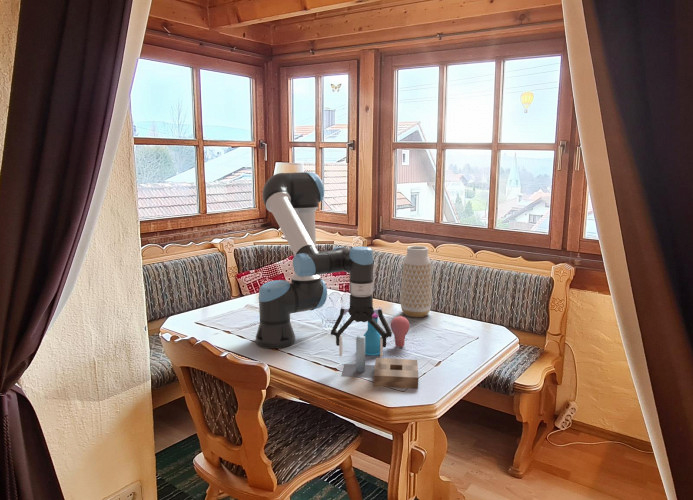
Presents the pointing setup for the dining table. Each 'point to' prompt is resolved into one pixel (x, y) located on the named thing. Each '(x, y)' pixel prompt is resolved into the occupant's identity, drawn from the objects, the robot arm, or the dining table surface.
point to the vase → (416, 282)
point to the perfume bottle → (372, 339)
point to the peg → (360, 354)
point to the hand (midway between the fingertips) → (361, 355)
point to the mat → (350, 371)
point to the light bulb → (400, 330)
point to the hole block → (396, 373)
